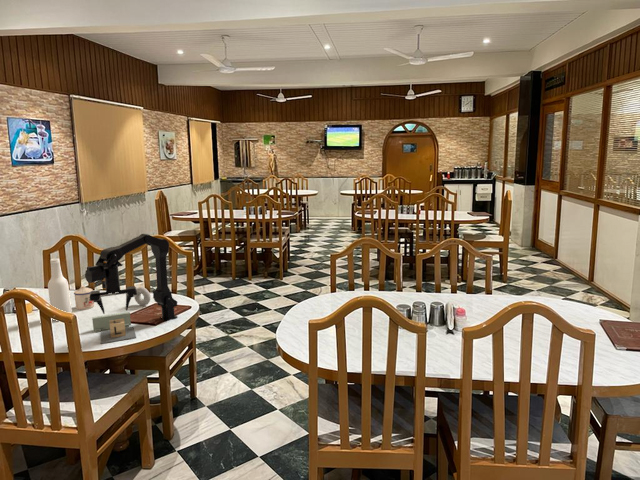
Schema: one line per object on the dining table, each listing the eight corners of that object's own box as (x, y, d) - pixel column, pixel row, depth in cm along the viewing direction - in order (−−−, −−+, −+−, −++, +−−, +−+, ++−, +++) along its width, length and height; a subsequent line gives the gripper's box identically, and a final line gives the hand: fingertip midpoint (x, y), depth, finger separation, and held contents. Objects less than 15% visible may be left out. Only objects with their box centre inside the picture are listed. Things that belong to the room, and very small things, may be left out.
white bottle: (53, 322, 231) (45, 262, 225) (51, 317, 238) (43, 258, 232) (73, 318, 236) (66, 259, 230) (70, 313, 243) (63, 256, 237)
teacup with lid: (85, 310, 247) (83, 289, 244) (71, 309, 249) (69, 288, 247) (102, 303, 258) (100, 282, 256) (88, 302, 260) (86, 281, 258)
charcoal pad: (136, 338, 209) (136, 337, 209) (101, 344, 204) (101, 342, 204) (133, 327, 222) (133, 326, 222) (100, 332, 216) (100, 331, 216)
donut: (152, 305, 253) (151, 287, 251) (148, 307, 250) (146, 289, 248) (138, 303, 257) (136, 285, 255) (133, 305, 254) (131, 287, 252)
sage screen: (131, 326, 223) (130, 314, 222) (93, 332, 217) (92, 320, 216) (130, 322, 229) (129, 310, 228) (93, 328, 222) (92, 315, 221)
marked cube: (125, 335, 211) (124, 322, 210) (111, 338, 209) (109, 324, 208) (125, 330, 217) (123, 318, 215) (110, 333, 214) (109, 320, 213)
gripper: (133, 270, 219) (136, 303, 222) (88, 276, 211) (92, 309, 214) (135, 276, 209) (138, 310, 212) (88, 282, 201) (92, 317, 204)
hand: (115, 311), depth 211 cm, fingers open, 9 cm apart
